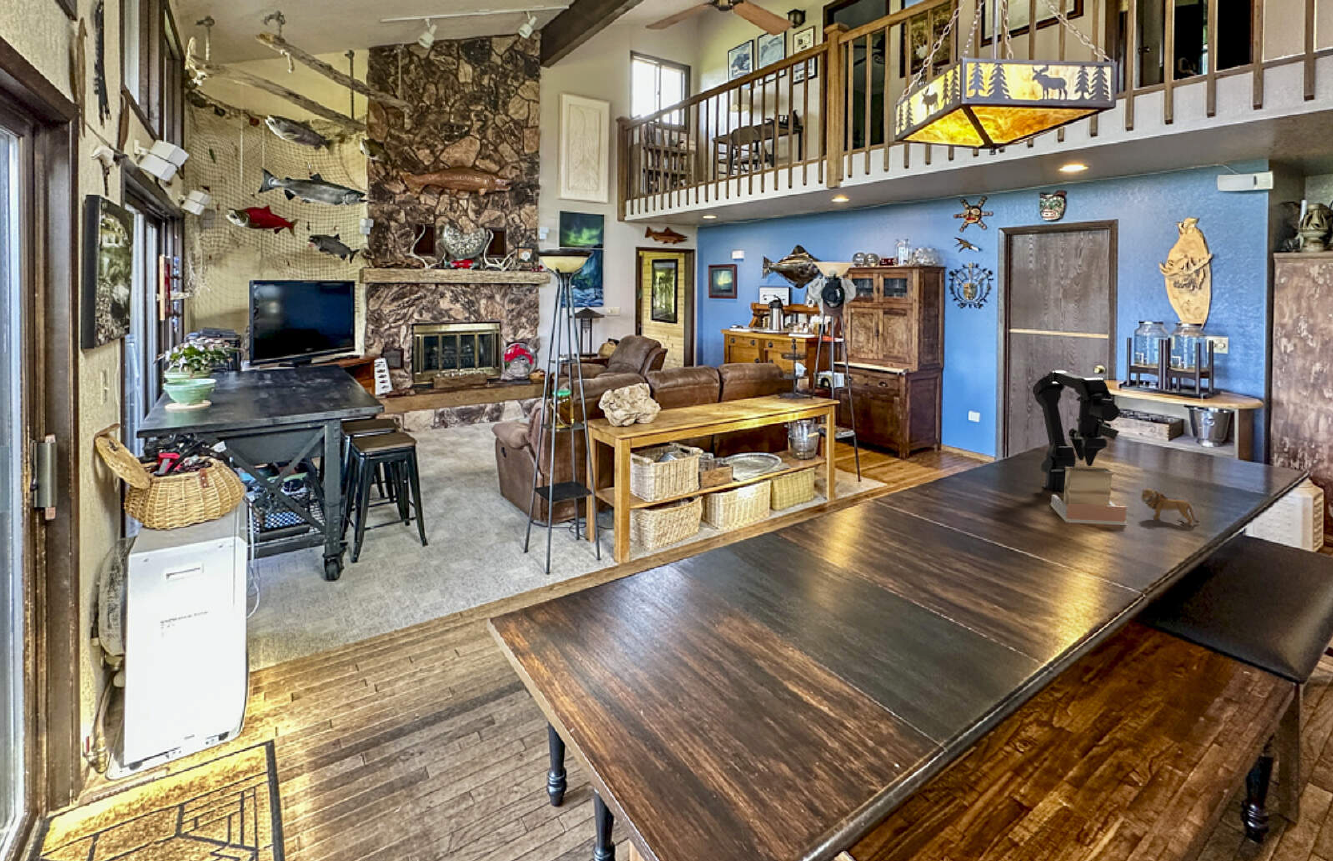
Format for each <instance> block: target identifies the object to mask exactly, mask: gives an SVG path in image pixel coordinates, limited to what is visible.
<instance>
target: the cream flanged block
mask: <svg viewBox="0 0 1333 861" xmlns="http://www.w3.org/2000/svg"><path fill="white" fill-rule="evenodd" d="M1065 470H1066V475H1065V485H1064V491H1063V502H1064V503H1065V504H1066V505H1067V504H1085V505H1109V502H1110V501H1111V500H1110V499H1111V495H1112V494H1111V493H1112V491H1111V489H1112V479H1113V478H1112V477H1113V476H1114V472H1113V471H1111V470H1110V469H1108V468H1106V467H1092V466H1087V467H1086V466H1085V467H1084V466H1074V467H1065Z"/></svg>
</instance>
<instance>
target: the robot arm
mask: <svg viewBox="0 0 1333 861" xmlns="http://www.w3.org/2000/svg"><path fill="white" fill-rule="evenodd" d="M1066 387H1069V388H1072V389H1074V392H1075V393H1076V394H1078V395H1079V396H1078V397H1077V398H1076V400H1075V401H1077V402H1079V408H1078V409H1079V410H1078V417H1077V418H1076V422H1077V425H1078V426H1077V427H1072V428H1070V429H1069V430H1068V437H1069V439H1070V441H1071V443H1072V445H1073V446H1069V445H1068V444H1067V442H1066V437H1065V434H1064V433H1065V432H1064V429H1063V424H1062V419H1061V414H1060V409H1059V402H1060V401H1061V398H1062V392H1063V391H1064V390H1065V388H1066ZM1032 393H1033V395H1034V399H1035V401H1036V402H1037V404H1038V405H1039V406H1040V407H1041V408H1042V413H1043V417H1044V422H1045V429H1046V433H1047V439H1048V444H1049V448H1048V449H1047V452H1046V459H1045V460H1043V462H1042V463H1041V465H1040V468H1041V472H1043V473H1046V476H1045V477H1046V478H1045V484H1044V485H1043V484H1042V485H1041V487H1042V488H1043V489H1046V490H1049V491H1052V492H1062V491H1063V492H1064V485H1065V475H1066V470H1065V467H1076V463H1077V461H1076V456H1077V459H1079V461H1083V460H1085V463H1086V465H1087V467H1092V466H1093V463H1094V461H1095V459H1096V456H1097V455H1098V452H1100V451H1101V450H1104V449H1105V448H1107V447H1108V441H1107V439H1106V438H1104V437H1107V438H1109V439H1111V440H1112V441H1115V440H1116V439H1117V436H1118V434H1119V433H1120V430H1118V429H1116V428H1114V427H1112V424H1111V423H1109V422H1113V421H1115V420H1116V419H1117V418H1118V417H1119V414H1120V409H1119V406H1118V405H1117V404H1115V402H1114V401H1115V400H1114V399H1112V396H1111V392H1110V390H1109V389H1108V385H1107V383H1106V381H1105V379H1103V378H1102V377H1084V376H1081V375H1077V374H1075V373H1072V372H1071V373H1070V372H1068V371H1066V370H1052V371H1050V372H1049V373H1048V374H1047V375H1046V376H1044V377H1042V378H1040V379H1039V380H1038V381H1037V382H1036V383H1035V384H1034V386H1033V387H1032ZM1102 421H1103V422H1102ZM1102 436H1104V437H1102ZM1075 453H1076V455H1075Z"/></svg>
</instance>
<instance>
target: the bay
mask: <svg viewBox="0 0 1333 861" xmlns="http://www.w3.org/2000/svg"><path fill="white" fill-rule="evenodd" d="M1050 506H1051V507H1052V508H1053V510H1054V511H1055V512H1056V513H1057V514H1058V515H1059V516H1060V517H1061V518H1062V519H1063V520H1064V522H1065V523H1070V524H1071V523H1072V524H1074V523H1075V524H1076V523H1077V524H1094V525H1095V524H1097V525H1113V526H1115V525H1116V526H1127V524H1128V523H1127V521H1126V518H1127V505H1116V504H1115V503H1114V502H1112V501H1111V500H1110V502H1109V505H1085V504H1067V505H1066V504H1065V503H1064V500H1062V499H1061V498H1060V497H1059V496H1058V495H1057V494H1051V502H1050Z"/></svg>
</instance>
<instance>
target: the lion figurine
mask: <svg viewBox="0 0 1333 861" xmlns="http://www.w3.org/2000/svg"><path fill="white" fill-rule="evenodd" d="M1140 499H1141V501H1142V502H1143V503H1144V504H1145V505H1147V507H1148V508H1150V509H1151V510H1154V511H1155V514H1153V515H1152V517H1153V520H1156V521H1157V520H1160V518H1161V516H1160V515H1161V512H1162V511H1165V512H1175V511H1178V512H1179V514H1180V515H1181V517H1180V518H1177V521H1180V522H1182V521H1184V520H1185V519H1186V520H1187V521H1186V522H1185V525H1188V526H1191V525H1192V520H1193V522H1194V523H1197V524H1200V521H1199V520H1197V519H1195V515H1194V510H1193V508H1192V506H1191V504H1190V503H1189V502H1188V501H1186V500H1183V499H1169V498H1167V496H1165V495H1164V494H1163V493H1160V492H1158V491H1157V490H1155V489H1153V488H1145V489H1143V490H1142V492H1141V496H1140ZM1188 509H1189V512H1190V513H1188ZM1189 514H1190V515H1189Z"/></svg>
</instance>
